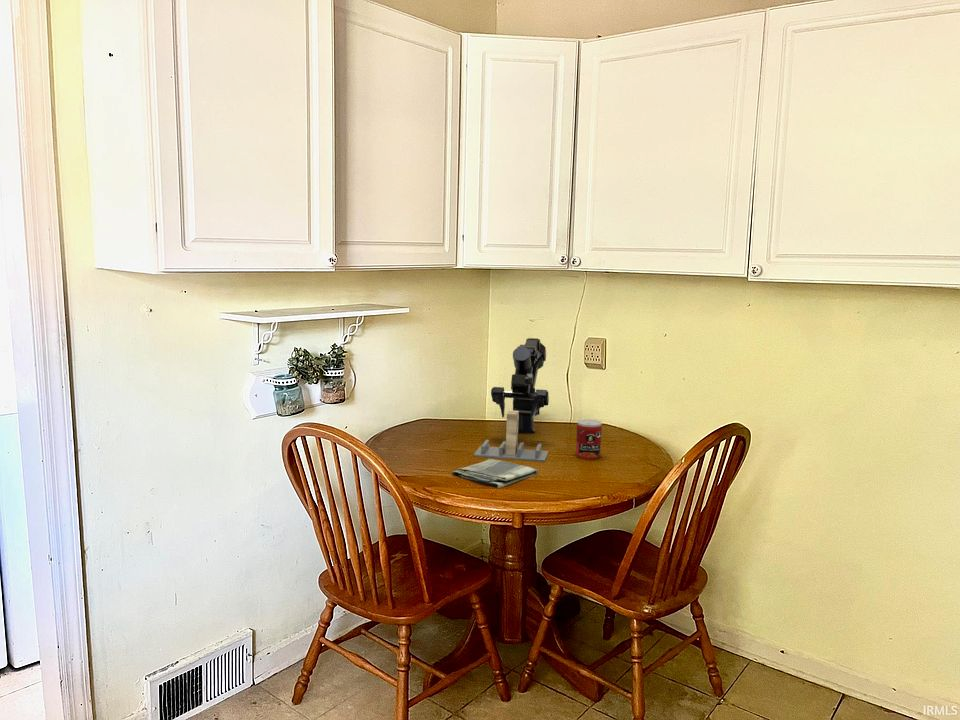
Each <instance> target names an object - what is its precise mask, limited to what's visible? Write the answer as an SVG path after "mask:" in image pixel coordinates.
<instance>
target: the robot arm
mask: <svg viewBox="0 0 960 720" xmlns="http://www.w3.org/2000/svg"><path fill="white" fill-rule="evenodd" d="M512 360H513V366H514V368H515V371H514V373H513V374H511V382H510V389H511V391H505V388H504V387H503V386H492V388H491V390H490V396H491V401H492V402H493V403H495V404H496V405H498V406H499V408H500V412H501V418H503V419H504V418H505V407H506V406H505V405H506V402H505V401H506V399H512V411H519V416H518V433H521V434H522V433H529V434H530V433H533V434H534V433H535V434H536V430H535V428H534V417H536V416H539V415H540V410H541V408H544V407H545V406H546V407H547V406H549V403H550V396H549V391H548V390H547V389H536V387H535V386H536V382H537V376H538V371H539V370H540V369H541V368H543V367H544V363H545V362H546V360H547V348H546V346H545V345H543V344H542V342H541V339H539V338H532V337H528V338H526V340H525V343H524V344H519V346H517V347H516V348H515V349H514V350H513V351H512Z"/></svg>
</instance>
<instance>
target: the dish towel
mask: <svg viewBox="0 0 960 720" xmlns="http://www.w3.org/2000/svg"><path fill="white" fill-rule="evenodd" d="M538 473H539V471H538V470H537V469H536V468H534V467H531V466H528V465H521V464H517V463H513V462H509V461H504V460H500V459H495V458H488V459H486V460H484V461H482V462H478V463H474V464H473V463H472V464H470V465H468V466H464V467H459V468H457V470H453V471H451V475H452V476H457V475H458V476H457V477H459V476H460V477H459V478H463V479H465V480H468V481H475V482H476V483H478V484H481V485H483V486H492V487H493V488H496V489H501V488H504V487H506V486H509V485H512V484H514V483H516V482H519V481H523V480H525V479H527V478H530V477H532V476H533V477H534V476H536V475H538ZM454 474H455V475H454Z"/></svg>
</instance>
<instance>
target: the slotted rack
mask: <svg viewBox="0 0 960 720" xmlns="http://www.w3.org/2000/svg"><path fill="white" fill-rule="evenodd" d="M542 446H543V445H542V443H538V444H537V446H536V449H525V442H520V443H519V445H518V446H517V453H516V455H507V454H506V440H503V441H502V443H501V444H500V446H499V447H496V446H490V439H486V440H484V442H483V443H482V444H481V445H479V446H478V448H477V450H475V452H474V453H473V457H479V458H488V459H502V460H515V461H516V460H517V461H529V462H539V463H545V462H546V460H547V457H548V454H549V451H547V450H542Z"/></svg>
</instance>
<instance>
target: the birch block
mask: <svg viewBox="0 0 960 720" xmlns="http://www.w3.org/2000/svg"><path fill="white" fill-rule="evenodd" d="M518 416H519V411H513V410H508V411H507V412H506V431H505V432H506V433H505V434H506V435H505V441H506V454H507V455H516V453H517V448H518V447H519V445H518V441H519V432H518Z"/></svg>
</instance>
